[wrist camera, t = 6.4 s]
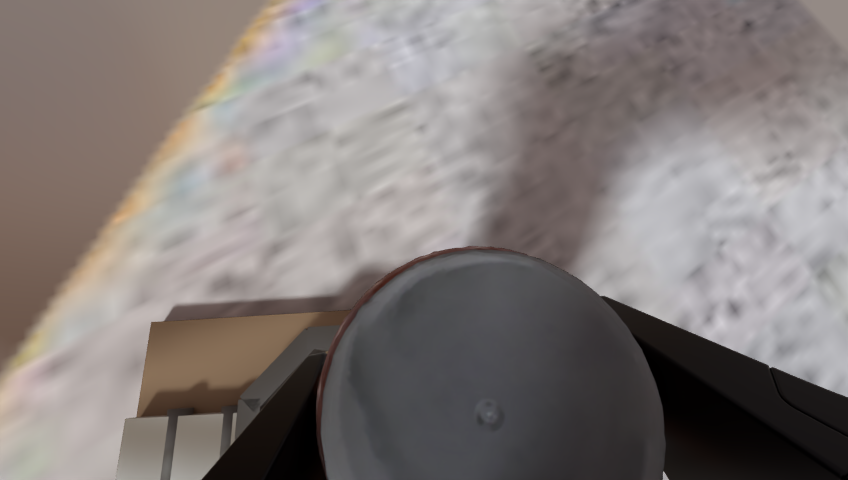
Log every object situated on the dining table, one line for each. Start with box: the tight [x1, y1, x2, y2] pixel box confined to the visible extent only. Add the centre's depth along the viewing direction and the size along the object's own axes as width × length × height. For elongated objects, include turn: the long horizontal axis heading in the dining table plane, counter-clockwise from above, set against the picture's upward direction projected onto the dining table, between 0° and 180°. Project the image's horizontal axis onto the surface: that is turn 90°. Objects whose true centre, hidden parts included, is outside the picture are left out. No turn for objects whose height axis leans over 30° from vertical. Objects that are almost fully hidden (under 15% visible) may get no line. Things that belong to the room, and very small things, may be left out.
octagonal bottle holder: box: [115, 310, 351, 480], centre depth 19 cm, size 12×22×3 cm, turn 94°
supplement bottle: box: [316, 246, 666, 480], centre depth 10 cm, size 6×6×11 cm
